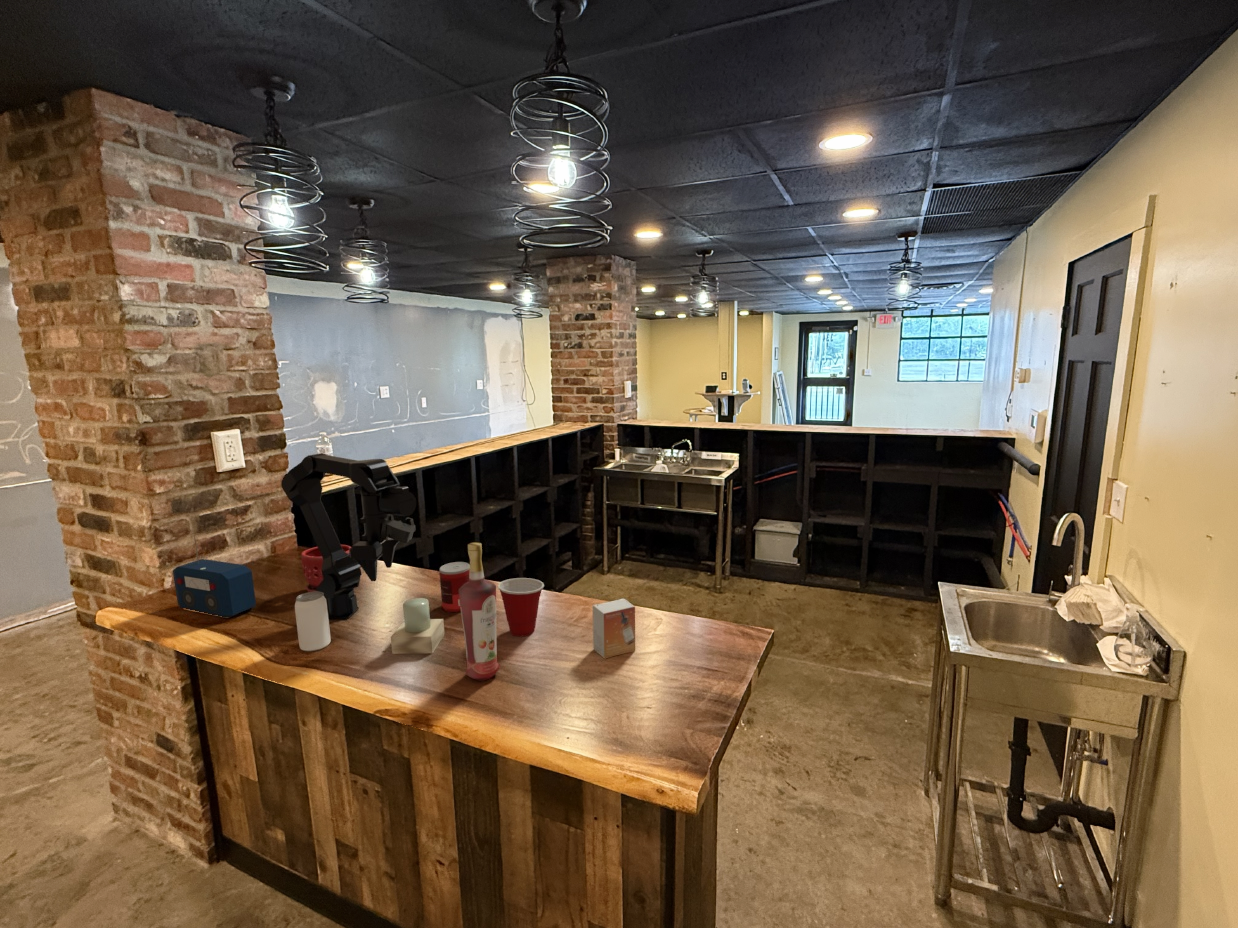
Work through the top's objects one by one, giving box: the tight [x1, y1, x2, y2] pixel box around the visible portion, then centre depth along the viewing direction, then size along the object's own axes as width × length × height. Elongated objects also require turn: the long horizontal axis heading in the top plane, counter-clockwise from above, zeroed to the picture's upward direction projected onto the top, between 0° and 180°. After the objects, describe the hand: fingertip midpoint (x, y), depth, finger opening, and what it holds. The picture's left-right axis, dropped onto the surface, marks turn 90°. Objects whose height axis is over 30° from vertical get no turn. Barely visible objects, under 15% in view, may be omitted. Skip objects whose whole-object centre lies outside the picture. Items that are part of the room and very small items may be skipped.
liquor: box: [459, 542, 501, 681], centre depth 120 cm, size 7×7×28 cm
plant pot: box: [300, 544, 352, 593], centre depth 169 cm, size 13×13×12 cm
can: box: [294, 591, 332, 652], centre depth 136 cm, size 6×6×12 cm
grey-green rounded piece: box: [402, 597, 431, 633], centre depth 135 cm, size 6×6×6 cm
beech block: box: [390, 618, 445, 655], centre depth 136 cm, size 9×9×4 cm
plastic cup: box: [497, 577, 545, 637], centre depth 141 cm, size 11×11×12 cm
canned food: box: [439, 561, 470, 613], centre depth 156 cm, size 8×8×11 cm
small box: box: [592, 598, 636, 659], centre depth 131 cm, size 8×6×10 cm
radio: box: [172, 535, 257, 618], centre depth 156 cm, size 21×9×20 cm, turn 69°
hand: (381, 574), depth 145 cm, fingers open, 9 cm apart
